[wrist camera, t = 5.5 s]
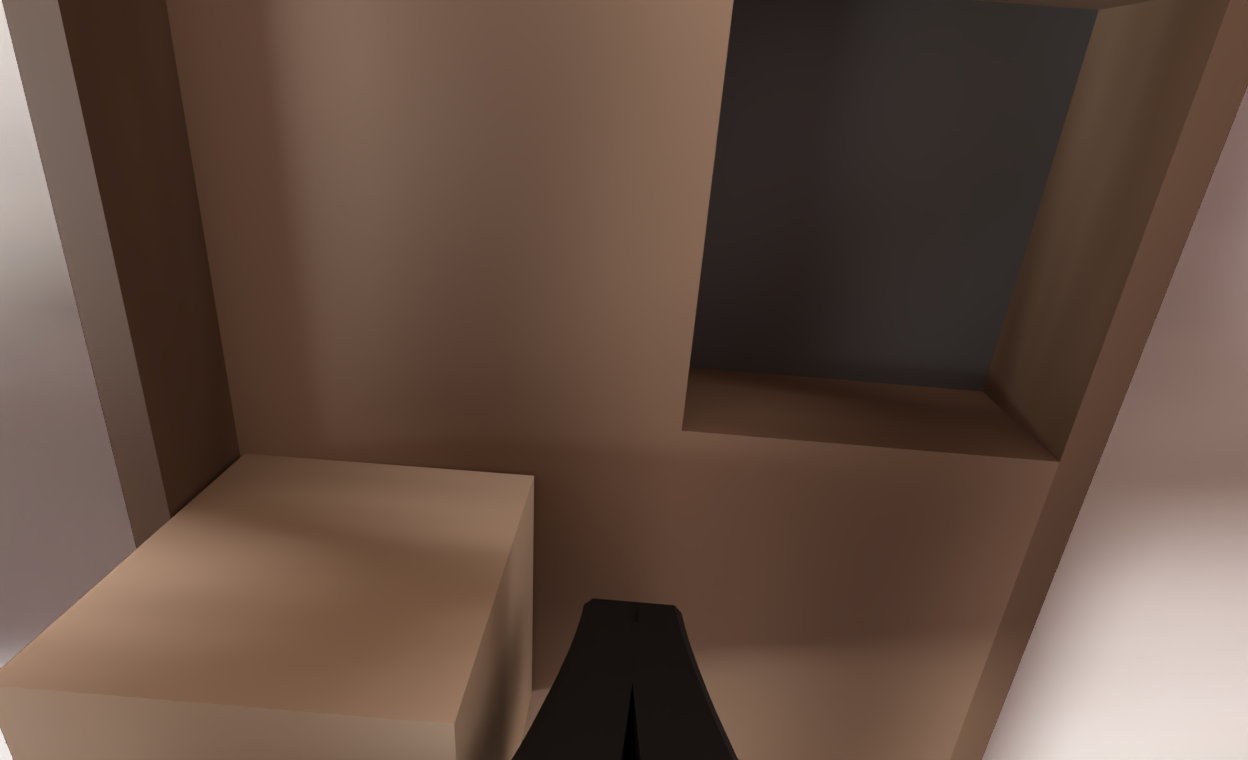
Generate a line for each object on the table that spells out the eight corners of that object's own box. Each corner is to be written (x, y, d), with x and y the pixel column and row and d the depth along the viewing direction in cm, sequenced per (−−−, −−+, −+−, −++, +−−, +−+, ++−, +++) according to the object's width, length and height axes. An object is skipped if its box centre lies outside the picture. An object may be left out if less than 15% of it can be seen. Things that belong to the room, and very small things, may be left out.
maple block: (283, 672, 11) (96, 963, 7) (244, 453, 9) (-17, 683, 6) (531, 693, 11) (467, 997, 7) (533, 475, 9) (454, 723, 6)
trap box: (358, 919, 18) (281, 1137, 14) (177, -538, 8) (-277, -1134, 4) (824, 959, 18) (871, 1189, 14) (1275, -451, 7) (1883, -974, 4)
